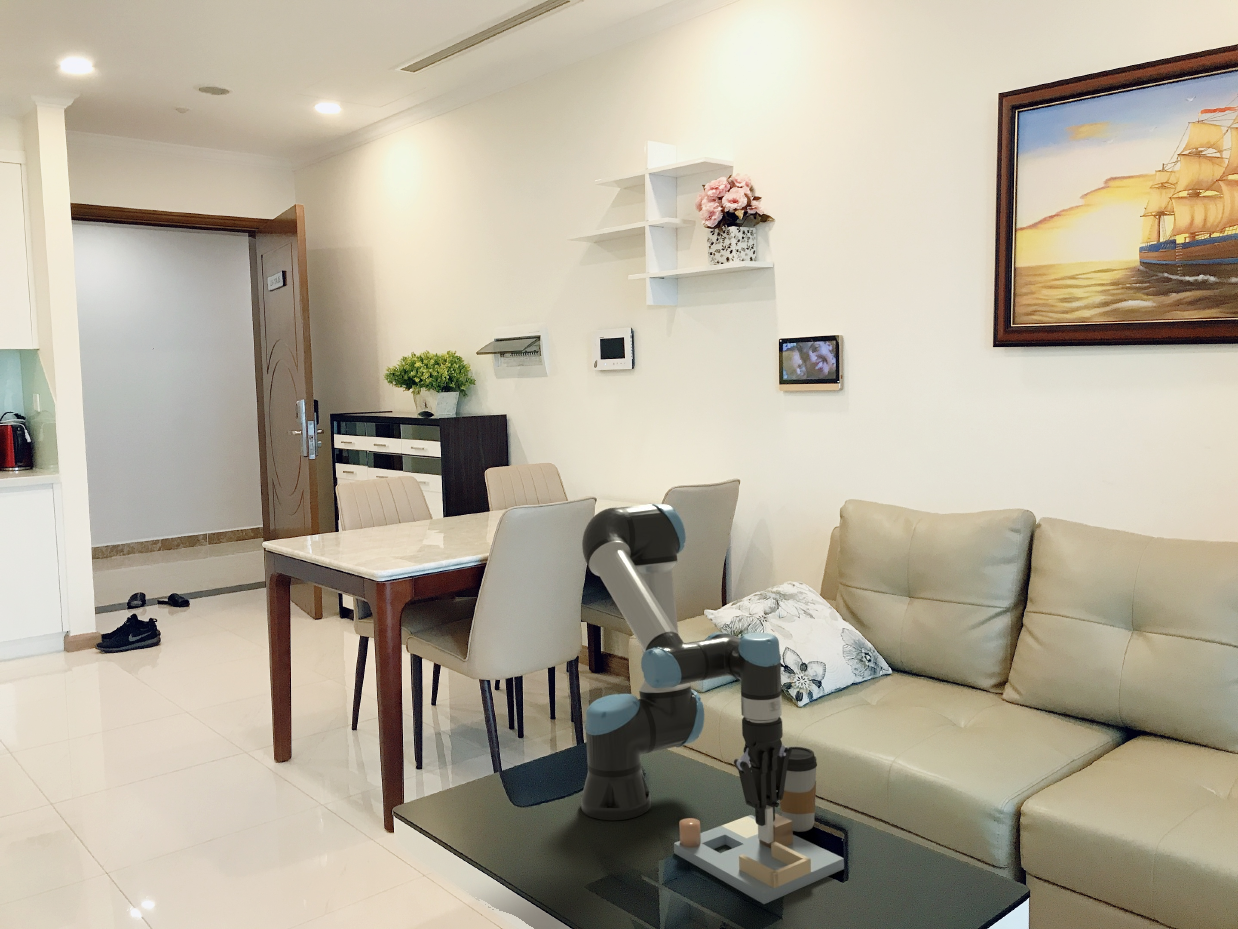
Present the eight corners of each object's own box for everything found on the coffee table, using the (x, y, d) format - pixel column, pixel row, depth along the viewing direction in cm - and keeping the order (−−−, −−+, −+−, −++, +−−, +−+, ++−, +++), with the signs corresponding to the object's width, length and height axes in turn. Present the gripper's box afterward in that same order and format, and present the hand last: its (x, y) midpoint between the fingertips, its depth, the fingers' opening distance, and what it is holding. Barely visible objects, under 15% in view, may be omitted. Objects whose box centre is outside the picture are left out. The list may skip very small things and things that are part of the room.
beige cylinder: (675, 842, 186) (675, 822, 186) (691, 836, 189) (691, 816, 189) (688, 849, 183) (688, 829, 183) (705, 843, 185) (704, 823, 185)
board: (674, 853, 186) (673, 830, 186) (751, 824, 198) (750, 802, 197) (764, 904, 166) (763, 878, 166) (844, 869, 177) (843, 845, 177)
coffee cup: (819, 835, 191) (816, 761, 191) (776, 833, 193) (774, 759, 192) (819, 817, 200) (816, 746, 199) (778, 815, 201) (775, 745, 200)
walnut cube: (759, 842, 185) (758, 819, 185) (776, 836, 187) (775, 813, 187) (775, 851, 181) (774, 827, 181) (793, 844, 184) (792, 821, 183)
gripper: (749, 729, 174) (754, 857, 175) (801, 714, 182) (804, 837, 183) (722, 719, 180) (726, 843, 182) (773, 705, 188) (777, 824, 189)
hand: (766, 840), depth 182 cm, fingers closed
